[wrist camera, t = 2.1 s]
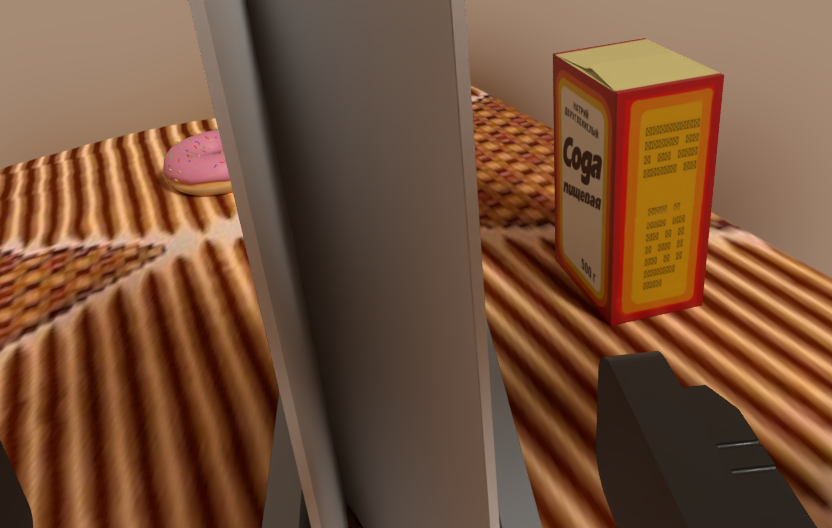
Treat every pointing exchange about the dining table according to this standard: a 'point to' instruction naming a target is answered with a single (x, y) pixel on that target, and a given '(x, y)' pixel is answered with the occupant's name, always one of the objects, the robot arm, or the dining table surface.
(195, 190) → the doughnut
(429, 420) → the brochure
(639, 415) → the robot arm
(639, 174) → the baking soda box
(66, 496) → the dining table surface
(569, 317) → the dining table surface
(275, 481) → the rack
